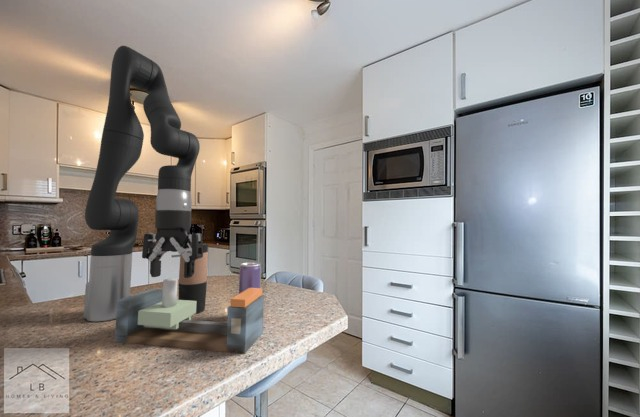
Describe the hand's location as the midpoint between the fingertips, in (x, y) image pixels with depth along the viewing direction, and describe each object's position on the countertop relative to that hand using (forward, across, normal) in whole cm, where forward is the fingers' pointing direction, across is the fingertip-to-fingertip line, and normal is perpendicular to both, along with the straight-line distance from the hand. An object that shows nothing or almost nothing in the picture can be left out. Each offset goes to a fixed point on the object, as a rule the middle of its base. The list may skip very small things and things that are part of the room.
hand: (171, 277), depth 61 cm
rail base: (+14, -6, 0) cm, 15 cm away
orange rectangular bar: (+5, -19, 0) cm, 20 cm away
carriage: (+11, 0, 0) cm, 11 cm away
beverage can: (+14, -14, -14) cm, 24 cm away
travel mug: (+14, +5, -16) cm, 22 cm away
